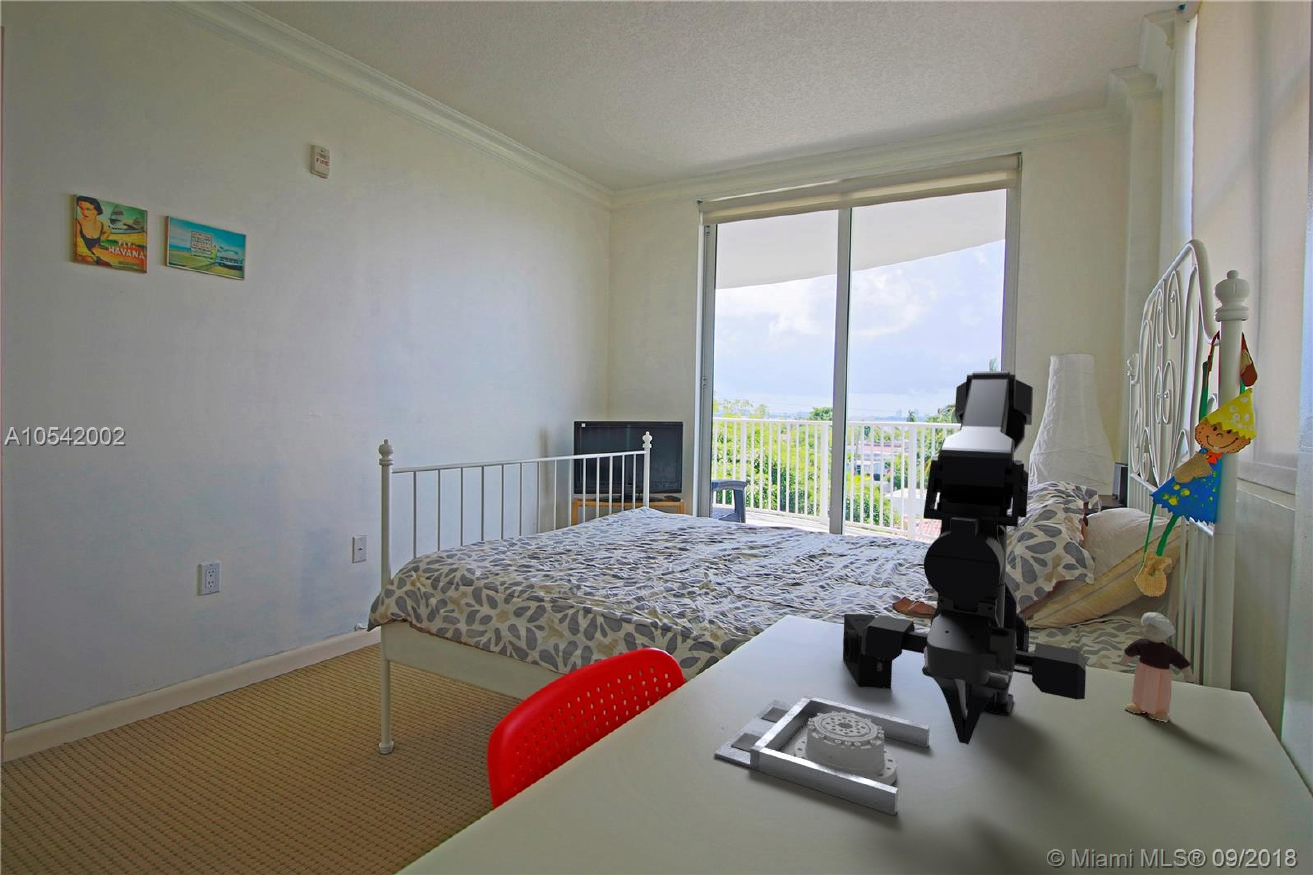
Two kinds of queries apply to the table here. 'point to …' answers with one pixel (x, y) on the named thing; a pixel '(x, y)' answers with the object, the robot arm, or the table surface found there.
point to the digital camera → (860, 665)
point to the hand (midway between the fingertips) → (964, 742)
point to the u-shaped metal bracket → (777, 726)
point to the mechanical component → (848, 746)
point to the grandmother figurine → (1154, 667)
